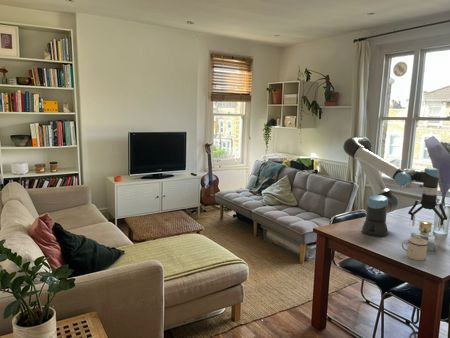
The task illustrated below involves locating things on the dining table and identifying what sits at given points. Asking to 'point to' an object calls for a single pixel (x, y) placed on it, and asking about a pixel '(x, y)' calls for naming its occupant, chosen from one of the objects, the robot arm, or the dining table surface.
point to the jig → (427, 238)
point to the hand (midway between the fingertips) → (425, 227)
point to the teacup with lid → (416, 248)
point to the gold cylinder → (425, 227)
